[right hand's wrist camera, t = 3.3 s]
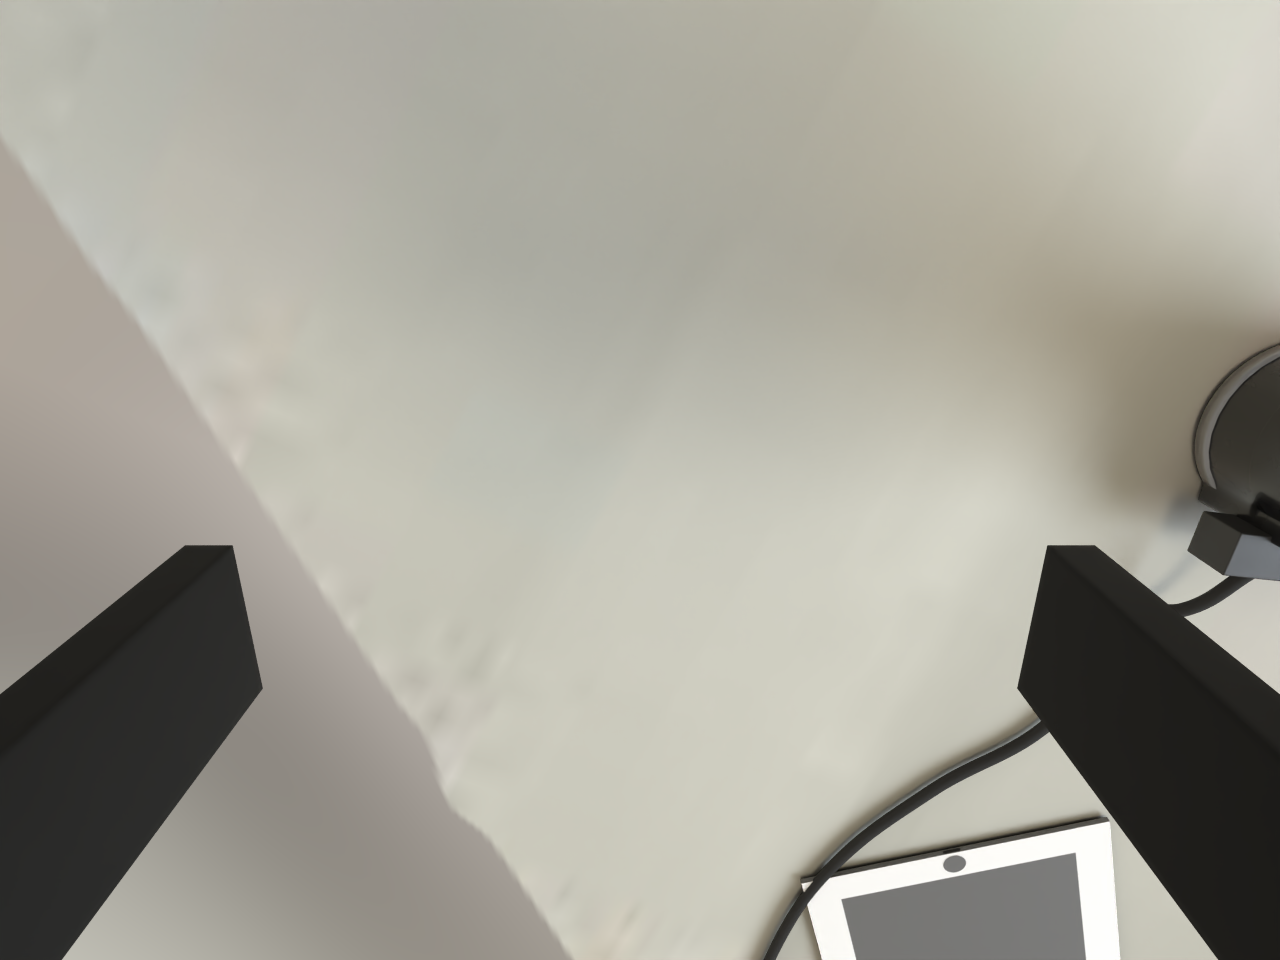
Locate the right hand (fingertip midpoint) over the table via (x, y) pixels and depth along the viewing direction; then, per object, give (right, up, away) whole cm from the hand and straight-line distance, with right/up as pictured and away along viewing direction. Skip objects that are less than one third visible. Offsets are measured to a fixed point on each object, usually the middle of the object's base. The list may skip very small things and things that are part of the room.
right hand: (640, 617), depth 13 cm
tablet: (+25, -36, +44) cm, 62 cm away
